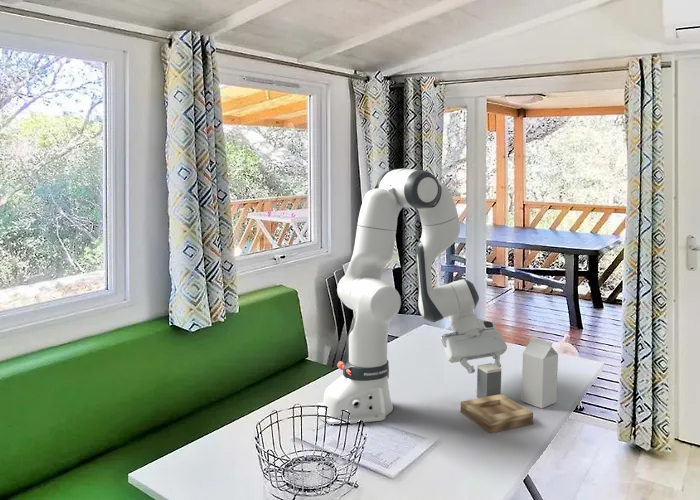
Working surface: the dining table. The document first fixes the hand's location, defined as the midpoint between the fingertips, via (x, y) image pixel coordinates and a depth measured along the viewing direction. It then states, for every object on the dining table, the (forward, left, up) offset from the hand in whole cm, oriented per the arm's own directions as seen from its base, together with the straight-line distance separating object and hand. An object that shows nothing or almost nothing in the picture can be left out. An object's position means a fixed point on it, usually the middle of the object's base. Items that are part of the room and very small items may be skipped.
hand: (485, 370), depth 173 cm
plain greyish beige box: (0, -2, -8) cm, 8 cm away
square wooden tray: (-6, -14, -8) cm, 17 cm away
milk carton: (+12, -10, -8) cm, 18 cm away
